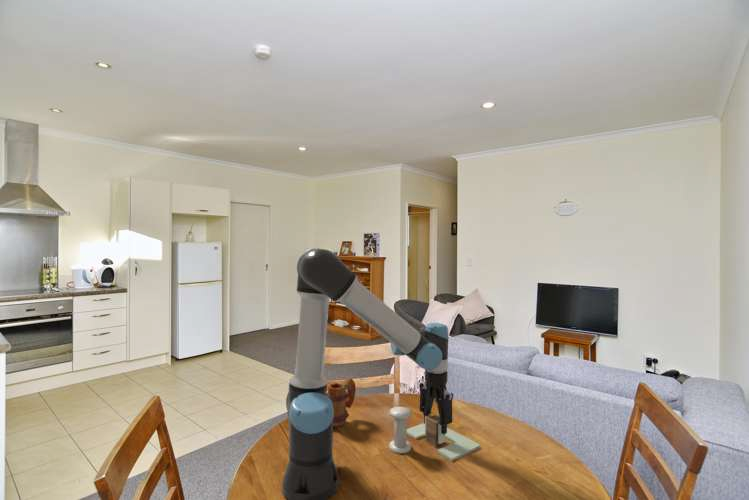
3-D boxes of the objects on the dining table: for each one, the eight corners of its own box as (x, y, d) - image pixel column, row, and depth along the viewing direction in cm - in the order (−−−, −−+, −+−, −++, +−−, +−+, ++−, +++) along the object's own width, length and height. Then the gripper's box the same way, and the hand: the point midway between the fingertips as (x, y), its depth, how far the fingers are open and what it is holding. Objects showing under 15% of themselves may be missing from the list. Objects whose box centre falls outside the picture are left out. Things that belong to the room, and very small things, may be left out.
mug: (335, 432, 133) (336, 389, 133) (319, 425, 138) (319, 384, 138) (361, 417, 144) (362, 378, 144) (345, 411, 149) (346, 373, 149)
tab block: (435, 447, 124) (435, 423, 124) (425, 441, 128) (426, 417, 128) (444, 443, 127) (445, 419, 127) (435, 437, 130) (435, 414, 130)
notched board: (451, 461, 116) (451, 458, 116) (404, 432, 134) (404, 430, 133) (480, 447, 124) (480, 445, 124) (432, 422, 142) (432, 419, 142)
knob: (398, 456, 118) (399, 418, 118) (385, 446, 124) (385, 410, 124) (415, 449, 122) (416, 412, 122) (401, 440, 128) (401, 405, 128)
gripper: (465, 375, 122) (463, 447, 122) (424, 361, 137) (423, 424, 137) (449, 380, 117) (448, 454, 117) (409, 364, 132) (408, 430, 132)
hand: (434, 438), depth 127 cm, fingers open, 5 cm apart
